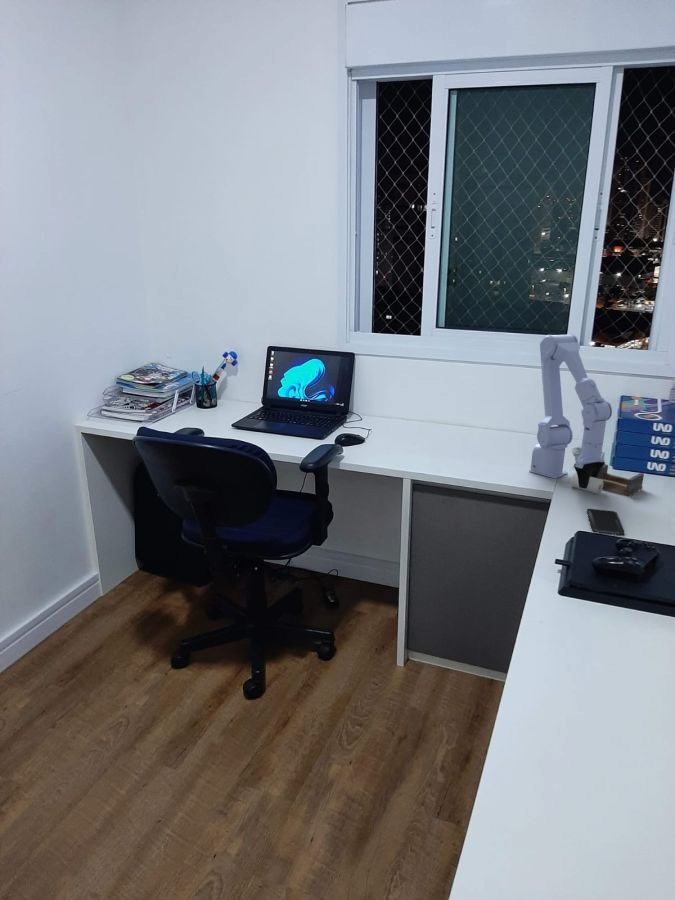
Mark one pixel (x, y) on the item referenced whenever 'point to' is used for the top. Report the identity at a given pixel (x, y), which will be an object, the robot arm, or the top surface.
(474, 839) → the top surface
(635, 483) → the roll holder
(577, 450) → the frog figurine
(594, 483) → the paper roll
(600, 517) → the phone
